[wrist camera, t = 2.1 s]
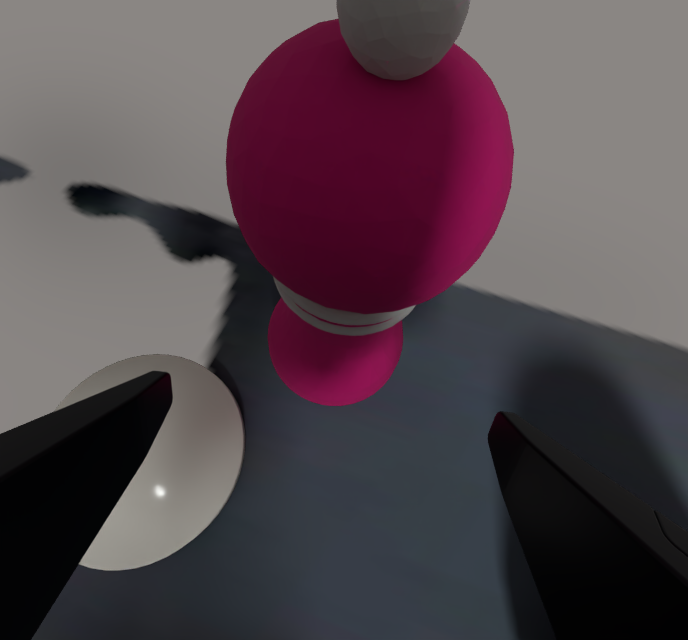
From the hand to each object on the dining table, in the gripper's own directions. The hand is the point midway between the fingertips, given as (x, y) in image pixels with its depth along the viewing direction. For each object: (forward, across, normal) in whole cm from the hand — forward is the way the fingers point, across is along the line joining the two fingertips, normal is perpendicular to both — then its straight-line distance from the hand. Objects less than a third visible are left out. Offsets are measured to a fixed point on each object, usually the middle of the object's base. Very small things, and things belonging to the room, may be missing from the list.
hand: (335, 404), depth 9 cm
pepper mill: (+12, 0, +6) cm, 13 cm away
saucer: (+7, +10, +10) cm, 16 cm away
